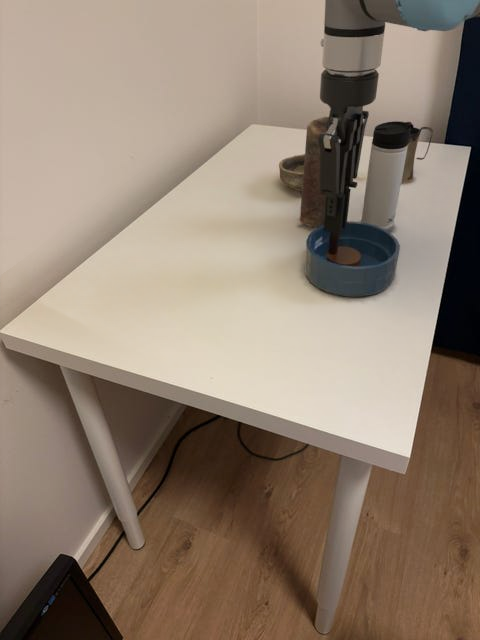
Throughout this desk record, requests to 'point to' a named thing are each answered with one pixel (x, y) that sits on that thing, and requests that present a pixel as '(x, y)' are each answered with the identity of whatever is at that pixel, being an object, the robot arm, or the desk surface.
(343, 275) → the mixing bowl
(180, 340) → the desk surface
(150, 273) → the desk surface
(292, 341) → the desk surface
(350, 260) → the ladle
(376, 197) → the travel mug
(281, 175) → the bowl
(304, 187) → the brown cylinder
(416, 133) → the mug
